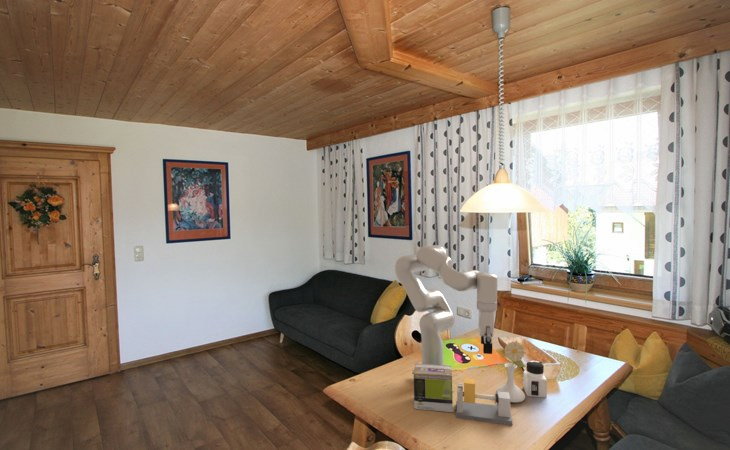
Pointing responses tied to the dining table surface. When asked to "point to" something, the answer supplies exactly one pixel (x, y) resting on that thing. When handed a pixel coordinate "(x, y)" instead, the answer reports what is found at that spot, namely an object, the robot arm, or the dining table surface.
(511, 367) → the flower in vase
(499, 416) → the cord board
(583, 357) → the dining table surface
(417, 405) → the tea box
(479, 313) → the robot arm
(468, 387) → the sleeve
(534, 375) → the container
